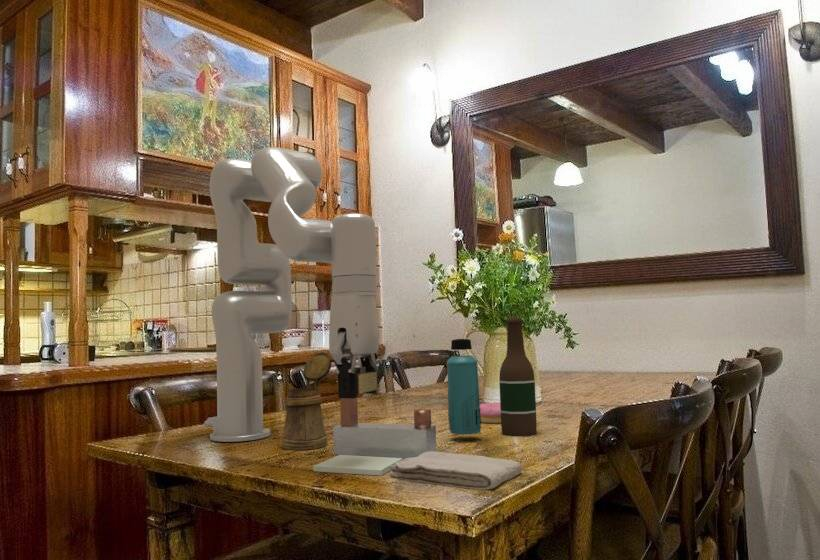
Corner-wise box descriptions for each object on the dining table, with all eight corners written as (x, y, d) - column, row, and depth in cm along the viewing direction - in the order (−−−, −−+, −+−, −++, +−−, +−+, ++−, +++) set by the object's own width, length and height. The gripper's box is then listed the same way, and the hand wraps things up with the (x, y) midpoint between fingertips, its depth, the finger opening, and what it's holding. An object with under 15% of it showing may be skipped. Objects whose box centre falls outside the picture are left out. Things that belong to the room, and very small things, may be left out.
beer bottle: (543, 431, 132) (538, 316, 134) (529, 437, 126) (524, 317, 127) (509, 429, 136) (504, 317, 138) (494, 435, 130) (489, 318, 131)
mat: (313, 471, 102) (313, 466, 102) (339, 459, 110) (339, 454, 110) (380, 475, 98) (380, 470, 98) (402, 463, 106) (402, 458, 106)
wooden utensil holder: (344, 438, 131) (342, 351, 132) (314, 451, 118) (312, 355, 120) (306, 437, 134) (304, 352, 135) (272, 449, 121) (271, 355, 122)
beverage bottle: (480, 442, 122) (476, 338, 123) (446, 442, 123) (442, 339, 125) (483, 436, 128) (479, 337, 130) (450, 436, 130) (447, 338, 131)
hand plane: (333, 454, 115) (332, 399, 115) (346, 449, 119) (345, 395, 120) (426, 459, 108) (425, 400, 109) (436, 453, 113) (434, 397, 113)
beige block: (338, 393, 102) (337, 368, 103) (356, 389, 108) (355, 366, 109) (360, 393, 101) (359, 368, 101) (377, 389, 107) (376, 365, 107)
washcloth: (424, 465, 106) (424, 446, 106) (525, 476, 97) (524, 455, 97) (385, 481, 96) (384, 460, 96) (492, 494, 87) (492, 472, 87)
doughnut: (529, 423, 144) (528, 404, 145) (484, 426, 142) (483, 407, 142) (511, 416, 155) (510, 399, 155) (468, 419, 152) (467, 402, 153)
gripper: (357, 291, 115) (360, 390, 114) (308, 286, 99) (311, 401, 98) (395, 289, 113) (398, 390, 111) (351, 284, 97) (354, 402, 95)
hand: (357, 394), depth 105 cm, fingers closed on beige block, 6 cm apart
